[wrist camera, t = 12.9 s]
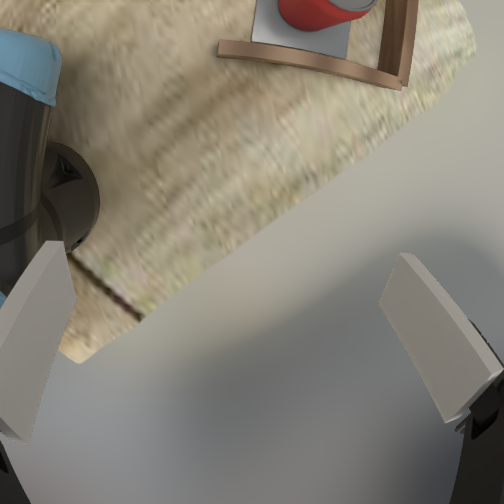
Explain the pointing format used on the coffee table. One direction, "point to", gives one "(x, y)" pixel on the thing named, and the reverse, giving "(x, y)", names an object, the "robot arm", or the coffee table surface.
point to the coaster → (297, 32)
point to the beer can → (322, 12)
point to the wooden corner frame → (389, 67)
